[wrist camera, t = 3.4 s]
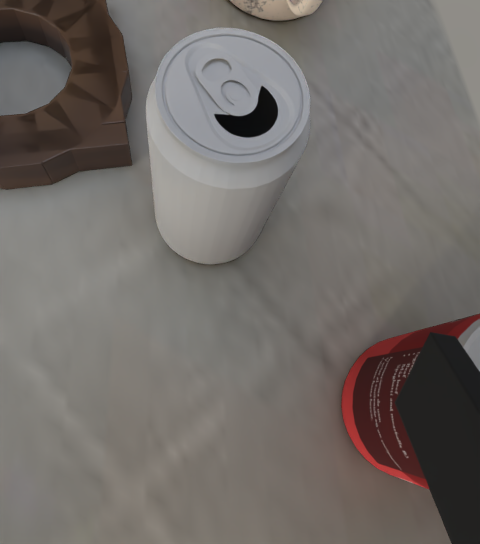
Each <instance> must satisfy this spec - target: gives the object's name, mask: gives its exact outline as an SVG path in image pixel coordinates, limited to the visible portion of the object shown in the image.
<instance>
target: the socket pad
mask: <svg viewBox="0 0 480 544" xmlns="http://www.w3.org/2000/svg"><path fill="white" fill-rule="evenodd" d="M25 40H27V41H31V42H35V43H39V44H43V45H46V46H50V47H51V48H52V49H54V50H55V51H57V52H58V53H60V54H61V55H63V56H64V57H66V58H67V60H68V61H69V63H70V64H71V66H72V69H71V72H70V75H69V77H68V80H67V83H66V86H65V88H64V89H63V90H62V91H61V92H60V93H59V94H58V95H57V96H56V97H55V98H54V99H53V100H52V101H51V102H50V103H49V104H47V105H44V106H42V107H40V108H37V109H35V110H33V111H31V112H28V113H26V114H17V115H5V116H0V188H2V189H14V188H23V187H32V186H40V185H49V184H53V183H56V182H58V181H60V180H62V179H64V178H66V177H68V176H70V175H72V174H74V173H76V172H78V171H84V170H93V169H103V168H112V167H121V166H130V165H132V160H131V154H130V147H129V141H128V135H127V129H126V122H125V119H126V116H127V113H128V109H129V106H130V103H131V100H132V93H131V85H130V78H129V70H128V64H127V58H126V52H125V46H124V40H123V36H122V33H121V32H120V30H119V29H118V28H117V26H116V25H115V23H114V22H113V20H112V19H111V17H110V16H109V15H108V9H107V3H106V0H0V43H1V42H7V41H25Z"/></svg>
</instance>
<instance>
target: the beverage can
mask: <svg viewBox="0 0 480 544" xmlns="http://www.w3.org/2000/svg"><path fill="white" fill-rule="evenodd" d="M309 112H310V93H309V87H308V84H307V81H306V78H305V76H304V74H303V72H302V70H301V69H300V67H299V66H298V64H297V63H296V61H295V60H294V59H293V58H292V57H291V56H290V55H289V54H288V53H287V52H286V51H285V50H284V49H283V48H281V47H280V46H279V45H277V44H276V43H275V42H273V41H271V40H270V39H268V38H266V37H264V36H262V35H259V34H257V33H254V32H251V31H247V30H242V29H237V28H212V29H207V30H203V31H199V32H196V33H194V34H191V35H189V36H187V37H185V38H184V39H182V40H181V41H179V42H178V43H177V44H175V45H174V46H173V47H172V48H171V49H170V50H169V51H168V53H167V54H166V55H165V57H164V58H163V60H162V62H161V64H160V66H159V68H158V71H157V75H156V77H155V78H154V80H153V82H152V84H151V86H150V89H149V92H148V96H147V101H146V122H147V132H148V143H149V154H150V165H151V176H152V186H153V197H154V208H155V218H156V223H157V227H158V229H159V232H160V234H161V236H162V237H163V239H164V241H165V242H166V243H167V244H168V246H169V247H170V248H171V249H172V250H174V251H175V252H176V253H177V254H179V255H180V256H182V257H184V258H186V259H188V260H190V261H193V262H197V263H202V264H219V263H225V262H229V261H231V260H234V259H236V258H238V257H240V256H241V255H243V254H244V253H245V252H246V251H248V250H249V249H250V248H251V247H252V245H253V244H254V243H255V241H256V240H257V238H258V236H259V234H260V232H261V230H262V229H263V227H264V225H265V223H266V221H267V219H268V217H269V215H270V214H271V212H272V210H273V208H274V206H275V204H276V202H277V200H278V199H279V197H280V195H281V193H282V191H283V189H284V187H285V185H286V184H287V182H288V180H289V178H290V176H291V174H292V172H293V170H294V169H295V167H296V165H297V163H298V161H299V159H300V157H301V155H302V154H303V152H304V150H305V147H306V145H307V142H308V138H309V134H310V113H309Z"/></svg>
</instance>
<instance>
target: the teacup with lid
mask: <svg viewBox="0 0 480 544" xmlns="http://www.w3.org/2000/svg"><path fill="white" fill-rule="evenodd" d="M230 1H231V2H232V3H233V4H234V5H235V6H237V7H238V8H240V9H241V10H243V11H245V12H246V13H249V14H251V15H253V16H256V17H259V18H262V19H267V20H276V21H284V20H291V19H296V18H299V17H302V16H305V15H310V14H312V13H314V12H315V11H316V10H317V9H318V8H319V6H320V5H321V3H322V1H323V0H230Z"/></svg>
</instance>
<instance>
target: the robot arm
mask: <svg viewBox="0 0 480 544" xmlns="http://www.w3.org/2000/svg"><path fill="white" fill-rule="evenodd" d="M394 403H395V405H396V408H397V410H398V413H399V415H400V418H401V420H402V423H403V425H404V427H405V430H406V432H407V435H408V437H409V440H410V442H411V445H412V447H413V450H414V452H415V454H416V457H417V459H418V462H419V464H420V467H421V469H422V472H423V474H424V477H425V479H426V482H427V484H428V486H429V489H430V491H431V494H432V496H433V499H434V501H435V504H436V506H437V509H438V511H439V513H440V516H441V518H442V521H443V523H444V526H445V528H446V531H447V533H448V536H449V538H450V540H451V543H452V544H480V371H479V370H478V368H477V367H476V365H475V364H474V362H473V361H472V360H471V358H470V357H469V355H468V354H467V352H466V351H465V349H464V348H463V346H462V345H461V343H460V342H459V341H458V339H457V338H456V336H450V335H445V334H439V333H433V332H430V334H429V335H428V337H427V339H426V341H425V343H424V345H423V347H422V349H421V351H420V353H419V355H418V357H417V359H416V361H415V363H414V365H413V367H412V369H411V371H410V373H409V375H408V377H407V379H406V381H405V383H404V385H403V387H402V389H401V391H400V393H399V395H398V396H397V398H396V400H395V402H394Z"/></svg>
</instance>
